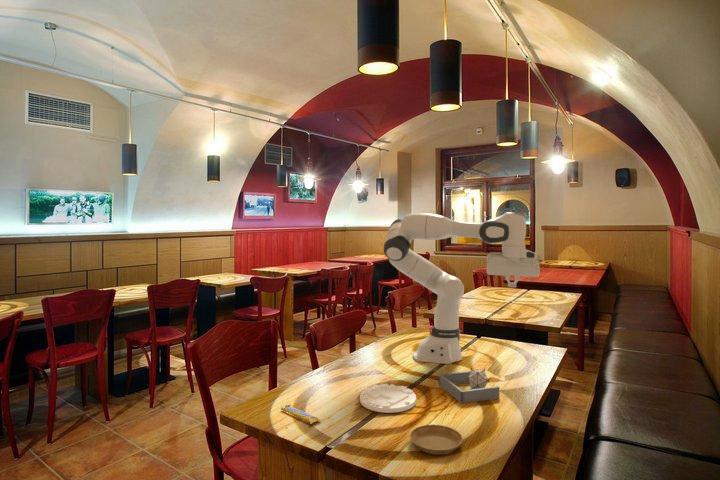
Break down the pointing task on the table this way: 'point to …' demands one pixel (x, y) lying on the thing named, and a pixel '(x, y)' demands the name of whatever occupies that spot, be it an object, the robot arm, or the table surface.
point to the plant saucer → (436, 439)
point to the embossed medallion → (388, 398)
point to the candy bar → (300, 414)
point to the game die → (477, 379)
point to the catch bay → (466, 395)
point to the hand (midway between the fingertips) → (512, 287)
